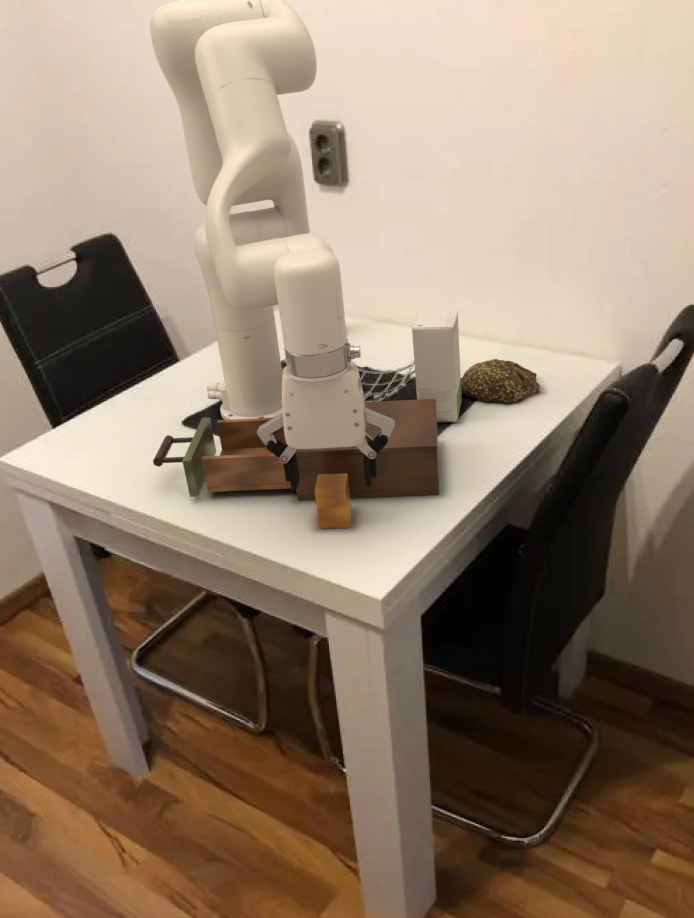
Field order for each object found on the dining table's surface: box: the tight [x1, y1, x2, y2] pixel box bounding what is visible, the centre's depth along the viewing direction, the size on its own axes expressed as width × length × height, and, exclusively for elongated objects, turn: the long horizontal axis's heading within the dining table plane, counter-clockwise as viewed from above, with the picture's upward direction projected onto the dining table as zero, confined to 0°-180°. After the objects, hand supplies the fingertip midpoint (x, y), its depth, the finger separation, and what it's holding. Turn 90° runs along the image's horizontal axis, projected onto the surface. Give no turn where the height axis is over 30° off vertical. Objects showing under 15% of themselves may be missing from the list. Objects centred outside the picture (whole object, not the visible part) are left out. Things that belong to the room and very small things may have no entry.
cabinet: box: [295, 399, 440, 501], centre depth 129 cm, size 20×15×8 cm
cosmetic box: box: [411, 309, 463, 423], centre depth 141 cm, size 8×7×16 cm
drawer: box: [152, 416, 291, 498], centre depth 131 cm, size 24×13×6 cm, turn 86°
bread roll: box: [461, 358, 541, 404], centre depth 149 cm, size 13×12×5 cm
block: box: [315, 473, 353, 530], centre depth 119 cm, size 4×4×6 cm
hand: (332, 483), depth 117 cm, fingers open, 9 cm apart
